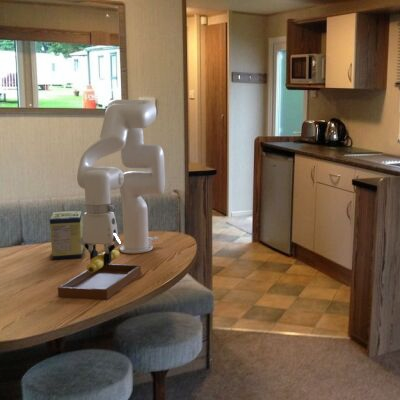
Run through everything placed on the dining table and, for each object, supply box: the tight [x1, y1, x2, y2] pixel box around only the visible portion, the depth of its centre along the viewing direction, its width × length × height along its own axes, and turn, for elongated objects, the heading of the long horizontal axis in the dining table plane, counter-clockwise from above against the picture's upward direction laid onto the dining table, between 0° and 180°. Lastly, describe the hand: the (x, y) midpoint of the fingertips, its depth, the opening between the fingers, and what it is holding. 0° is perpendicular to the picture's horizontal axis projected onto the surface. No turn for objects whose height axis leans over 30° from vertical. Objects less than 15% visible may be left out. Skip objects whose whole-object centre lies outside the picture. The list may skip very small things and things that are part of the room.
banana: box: [86, 249, 121, 273], centre depth 182 cm, size 20×4×4 cm, turn 175°
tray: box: [57, 263, 142, 300], centre depth 183 cm, size 26×16×3 cm, turn 175°
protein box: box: [49, 209, 85, 261], centre depth 216 cm, size 10×16×16 cm
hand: (101, 263), depth 182 cm, fingers closed on banana, 3 cm apart
